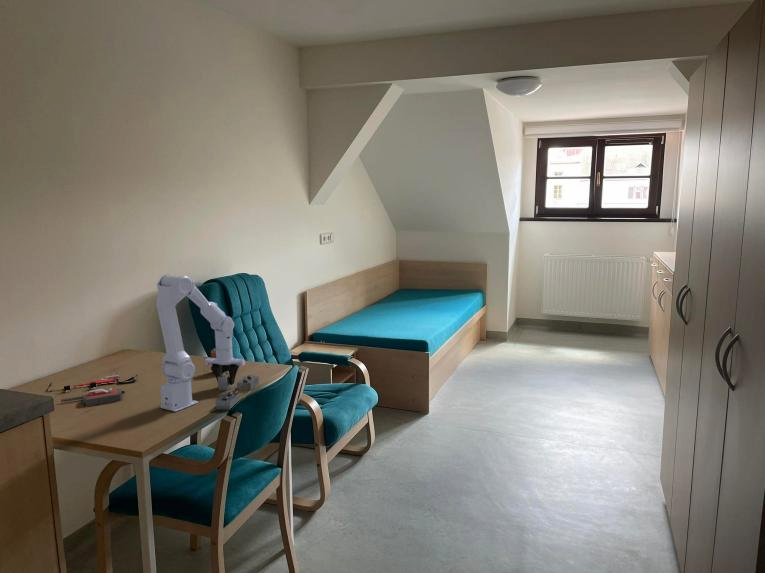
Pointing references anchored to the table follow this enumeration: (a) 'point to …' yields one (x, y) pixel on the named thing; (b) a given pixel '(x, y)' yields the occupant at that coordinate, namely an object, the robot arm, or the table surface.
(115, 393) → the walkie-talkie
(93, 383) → the red black toy gun
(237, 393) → the studded link strip
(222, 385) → the block with brass knobs
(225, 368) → the battery
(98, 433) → the table surface
